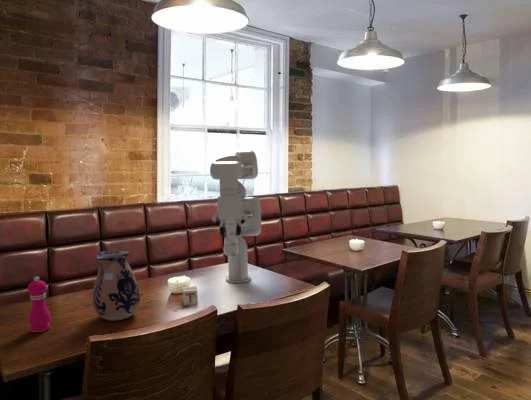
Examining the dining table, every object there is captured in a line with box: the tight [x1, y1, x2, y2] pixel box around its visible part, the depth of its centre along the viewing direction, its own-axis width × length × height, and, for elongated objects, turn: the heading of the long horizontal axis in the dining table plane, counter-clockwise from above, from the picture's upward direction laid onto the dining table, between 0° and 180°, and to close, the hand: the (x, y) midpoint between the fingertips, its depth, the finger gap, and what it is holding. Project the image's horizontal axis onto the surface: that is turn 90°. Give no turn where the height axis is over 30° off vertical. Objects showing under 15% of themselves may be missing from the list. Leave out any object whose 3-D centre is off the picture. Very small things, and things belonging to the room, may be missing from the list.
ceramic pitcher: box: [92, 250, 141, 322], centre depth 165 cm, size 18×21×25 cm
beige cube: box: [182, 285, 199, 306], centre depth 179 cm, size 6×6×6 cm
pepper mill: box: [27, 276, 52, 332], centre depth 153 cm, size 7×7×20 cm
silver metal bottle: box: [223, 216, 239, 257], centre depth 175 cm, size 6×7×20 cm
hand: (230, 235), depth 175 cm, fingers closed on silver metal bottle, 6 cm apart
